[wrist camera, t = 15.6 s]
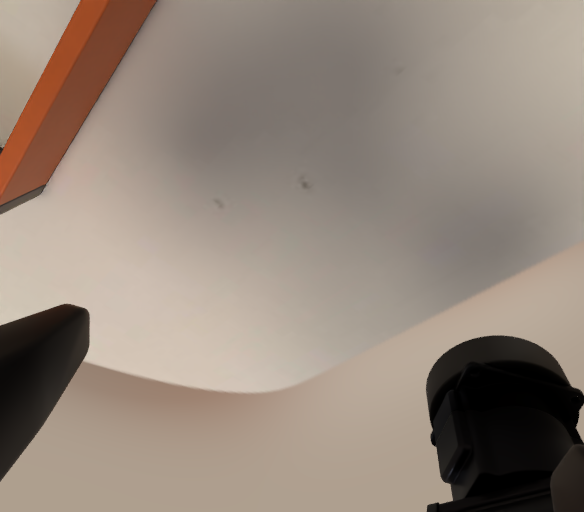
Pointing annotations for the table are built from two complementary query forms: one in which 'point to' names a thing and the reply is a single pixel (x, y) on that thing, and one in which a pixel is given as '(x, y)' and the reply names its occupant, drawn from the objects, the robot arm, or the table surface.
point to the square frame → (66, 94)
